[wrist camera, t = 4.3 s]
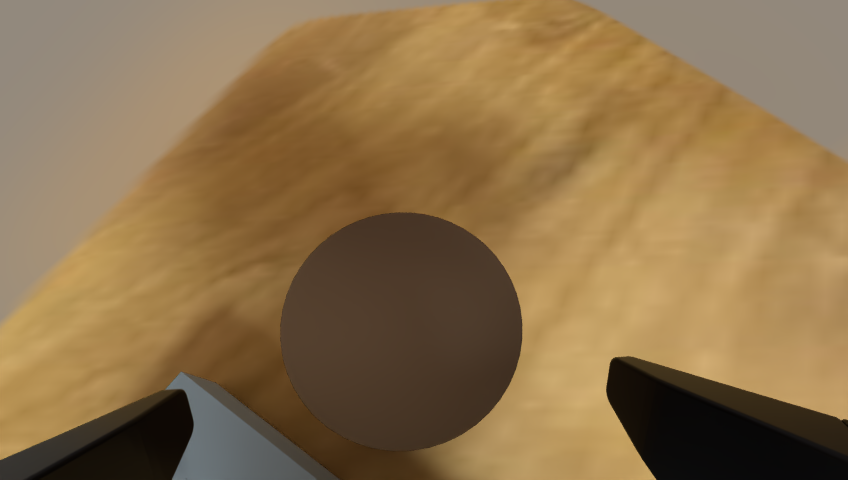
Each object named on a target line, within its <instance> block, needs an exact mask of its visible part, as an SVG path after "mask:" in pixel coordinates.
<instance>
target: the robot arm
mask: <svg viewBox="0 0 848 480" xmlns="http://www.w3.org/2000/svg"><path fill="white" fill-rule="evenodd" d="M606 392H607V397H608V400H609V402H610V404H611V406H612V408H613V410H614V411H615V413H616V415H617V417H618V418H619V420H620V422H621V424H622V425H623V427H624V429H625V431H626V432H627V434H628V436H629V438H630V439H631V441H632V443H633V445H634V446H635V448H636V450H637V452H638V453H639V455H640V456H641V458H642V460H643V461H644V462H645V464H646V465H647V467H648V468H649V470H650V471H651V473H652V474H653V475H654V477H655V478H656V480H848V420H846V419H843V420H840V419H838V418H837V417H833V416H830V415H827V414H823V413H820V412H817V411H813V410H810V409H806V408H803V407H800V406H796V405H793V404H790V403H786V402H783V401H780V400H776V399H773V398H769V397H766V396H763V395H759V394H756V393H753V392H749V391H746V390H742V389H739V388H736V387H732V386H729V385H726V384H722V383H719V382H716V381H712V380H709V379H705V378H702V377H699V376H695V375H692V374H689V373H685V372H682V371H678V370H675V369H672V368H668V367H665V366H662V365H658V364H655V363H652V362H648V361H645V360H641V359H638V358H635V357H629V356H626V357H615V358H613V359H612V360H611V362H610V367H609V373H608V380H607V387H606ZM193 429H194V420H193V416H192V412H191V408H190V405H189V401H188V397H187V394H186V392H185V391H184V390H183V389H170V390H162V391H159V392H157V393H155V394H152V395H150V396H148V397H145V398H143V399H141V400H138V401H136V402H134V403H131V404H129V405H127V406H125V407H122V408H120V409H118V410H115V411H113V412H111V413H108V414H106V415H104V416H101V417H99V418H97V419H94V420H92V421H90V422H88V423H85V424H83V425H81V426H78V427H76V428H74V429H71V430H69V431H67V432H64V433H62V434H60V435H58V436H55V437H53V438H51V439H48V440H46V441H44V442H41V443H39V444H37V445H34V446H32V447H30V448H28V449H25V450H23V451H21V452H18V453H16V454H14V455H11V456H9V457H7V458H4V459H2V460H0V480H172V479H173V476H174V474H175V472H176V470H177V468H178V465H179V463H180V461H181V459H182V456H183V454H184V452H185V450H186V447H187V445H188V443H189V441H190V439H191V436H192V433H193Z"/></svg>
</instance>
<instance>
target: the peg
mask: <svg viewBox="0 0 848 480" xmlns="http://www.w3.org/2000/svg"><path fill="white" fill-rule="evenodd" d="M280 341H281V348H282V356H283V360H284V364H285V367H286V371H287V374H288V376H289V378H290V381H291V383H292V385H293V387H294V389H295V391H296V392H297V394H298V396H299V397H300V399H301V400H302V402H303V403H304V404H305V406H306V407H307V408H308V409H309V410H310V411H311V413H312V414H313V415H314V416H315V417H316V418H317V419H318V420H320V421H321V422H322V423H323V424H324V425H325V426H326V427H328V428H329V429H331V430H332V431H334V432H336V433H337V434H339V435H340V436H342V437H344V438H346V439H348V440H351V441H353V442H355V443H357V444H360V445H364V446H368V447H371V448H375V449H382V450H389V451H412V450H418V449H424V448H429V447H433V446H436V445H439V444H442V443H445V442H447V441H449V440H451V439H454V438H456V437H458V436H460V435H462V434H463V433H465V432H466V431H468V430H469V429H471V428H472V427H473V426H475V425H476V424H478V423H479V422H480V421H481V420H482V419H483V418H484V417H485V416H486V415H487V414H488V413H490V411H491V410H492V409H493V408H494V406H495V405H496V404H497V403H498V402H499V400H500V399H501V397H502V396H503V394H504V392H505V391H506V389H507V388H508V386H509V384H510V382H511V379H512V377H513V375H514V372H515V370H516V367H517V363H518V360H519V356H520V351H521V343H522V317H521V309H520V305H519V301H518V297H517V293H516V291H515V288H514V286H513V283H512V281H511V279H510V277H509V275H508V273H507V272H506V270H505V268H504V266H503V265H502V264H501V262H500V261H499V260H498V258H497V257H496V256H495V254H494V253H493V252H492V251H491V250H490V249H489V248H488V247H487V246H486V245H485V244H484V243H483V242H481V241H480V240H479V239H478V238H477V237H475V236H474V235H472V234H471V233H469V232H468V231H466V230H465V229H463V228H461V227H459V226H457V225H455V224H453V223H451V222H449V221H446V220H443V219H440V218H438V217H433V216H429V215H425V214H417V213H389V214H381V215H377V216H372V217H368V218H365V219H363V220H360V221H357V222H354V223H352V224H350V225H348V226H346V227H344V228H342V229H341V230H339V231H337V232H336V233H334V234H333V235H331V236H330V237H329V238H327V239H326V240H325V241H324V242H322V243H321V244H320V245H319V246H318V247H317V248H316V249H315V250H314V251H313V252H312V253H311V254H310V255H309V257H308V258H307V259H306V260H305V262H304V263H303V264H302V266H301V267H300V269H299V270H298V272H297V274H296V276H295V277H294V279H293V281H292V283H291V286H290V288H289V290H288V293H287V296H286V299H285V303H284V307H283V311H282V318H281V337H280Z"/></svg>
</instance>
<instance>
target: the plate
mask: <svg viewBox="0 0 848 480" xmlns="http://www.w3.org/2000/svg"><path fill="white" fill-rule="evenodd" d="M170 389H183V390H184V391H185V392H186V394H187V397H188V401H189V405H190V408H191V412H192V416H193V420H194V429H193V433H192V436H191V439H190V441H189V443H188V445H187V447H186V450H185V452H184V454H183V456H182V459H181V461H180V463H179V465H178V468H177V470H176V472H175V474H174V476H173V479H172V480H340V479H338V478H337V477H336V476H335V475H333V474H332V473H331V472H329V471H328V470H327V469H326V468H324V467H323V466H322V465H321V464H319V463H318V462H317V461H315V460H314V459H313V458H312V457H310V456H309V455H308V454H306V453H305V452H304V451H303V450H301V449H300V448H299V447H297V446H296V445H295V444H294V443H292V442H291V441H290V440H288V439H287V438H286V437H285V436H283V435H282V434H281V433H280V432H278V431H277V430H276V429H274V428H273V427H272V426H271V425H269V424H268V423H267V422H265V421H264V420H263V419H262V418H260V417H259V416H258V415H256V414H255V413H254V412H253V411H251V410H250V409H249V408H248V407H246V406H245V405H244V404H242V403H241V402H240V401H239V400H237V399H236V398H235V397H233V396H232V395H231V394H230V393H228V392H227V391H226V390H224V389H223V388H222V387H221V386H219V385H218V384H217V383H215V382H212V381H209V380H206V379H203V378H200V377H196V376H193V375H190V374H187V373H184V372H180V374H179V375H178V376H177V377H176V378H175V379H174V380H173V381H172V383H171V384H170V385H169V386H168V387H167V388H166V389H165V390H170Z"/></svg>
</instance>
